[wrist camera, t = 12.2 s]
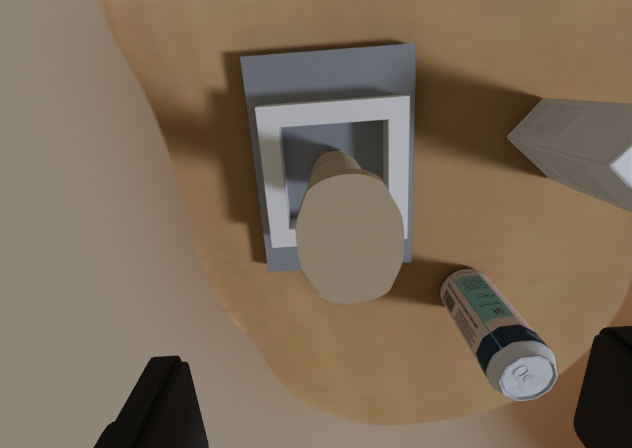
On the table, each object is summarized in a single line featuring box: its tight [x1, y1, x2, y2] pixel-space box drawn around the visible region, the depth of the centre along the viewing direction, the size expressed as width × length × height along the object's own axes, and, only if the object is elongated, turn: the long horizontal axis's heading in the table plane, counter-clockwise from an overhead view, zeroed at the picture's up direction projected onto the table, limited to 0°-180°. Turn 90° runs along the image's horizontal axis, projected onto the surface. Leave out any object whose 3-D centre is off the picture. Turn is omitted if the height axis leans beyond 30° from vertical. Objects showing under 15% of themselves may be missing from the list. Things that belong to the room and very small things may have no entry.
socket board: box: [240, 43, 416, 272], centre depth 31 cm, size 18×13×4 cm
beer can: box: [440, 269, 558, 401], centre depth 31 cm, size 5×5×12 cm
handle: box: [296, 149, 405, 304], centre depth 24 cm, size 5×6×15 cm
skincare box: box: [506, 98, 632, 212], centre depth 26 cm, size 6×4×12 cm
